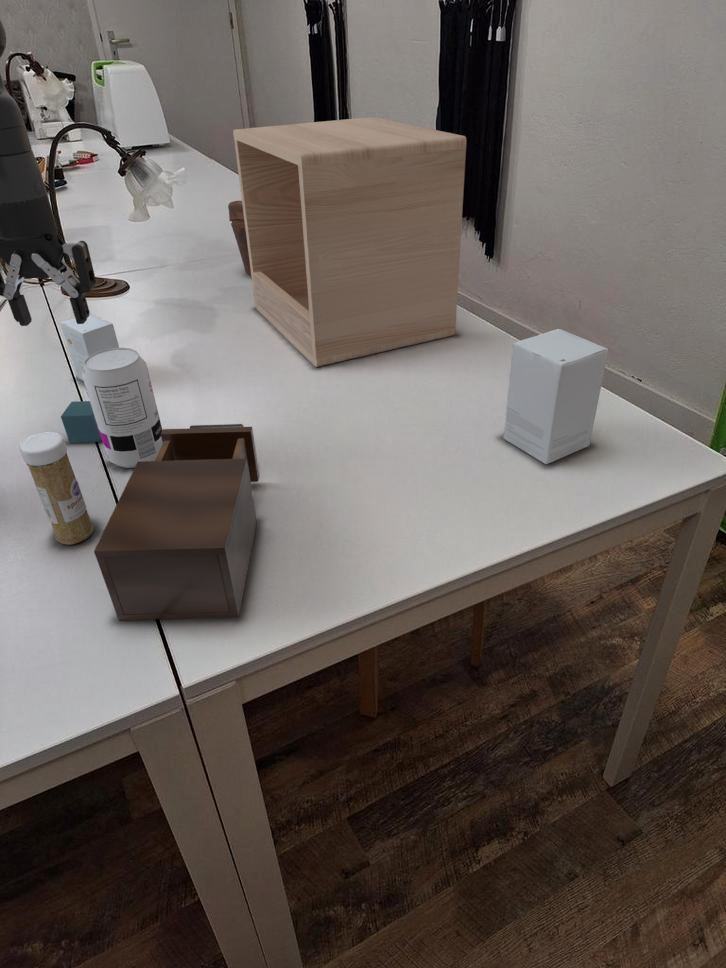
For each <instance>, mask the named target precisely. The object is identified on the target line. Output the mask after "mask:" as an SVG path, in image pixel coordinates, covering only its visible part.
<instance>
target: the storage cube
mask: <svg viewBox="0 0 726 968" xmlns="http://www.w3.org/2000/svg"><path fill="white" fill-rule="evenodd" d="M232 133H233V141H234V142H233V143H234V148H235V157H236V166H237V172H238V180H239V188H240V197H241V201H242V205H243V213H244V221H245V229H246V237H247V245H248V252H249V260H250V268H251V276H250V277H251V282H252V290H253V300H254V305H255V310H256V311H258V312H259V314H261V315H262V316H263V317H264V318H265V319H266V320H267V321H268V322H269V323H270V324H271V325H272V326H273V328H275V329H276V330H277V331H278V332H279V333H280V334H281V335H282V336H283V337H284V338H285V339H286V340H287V341H289V343H290V344H291V345H292V346H293V347H294V348H295V349H297V351H299V352H300V353H301V354H302V356H303V357H304V358H306V359H307V360H308V361H309V362H310V363H311V364H312V366H314V367H315V368H319V367H322V366H328V365H332V364H335V363H339V362H344V361H349V360H352V359H353V360H354V359H357V358H361V357H367V356H371V355H375V354H379V353H383V352H388V351H392V350H397V349H400V348H404V347H409V346H413V345H417V344H422V343H426V342H430V341H435V340H439V339H444V338H448V337H452V336H453V337H454V336H455V335H456V326H457V312H458V311H457V309H458V293H459V276H460V259H461V258H460V257H461V256H460V255H461V240H462V225H463V224H462V223H463V205H464V190H465V173H466V155H467V137H466V136H465V135H462V134H461V135H460V134H456V133H452V132H448V131H442V130H438V129H432V128H428V127H423V126H418V125H413V124H409V123H404V122H398V121H395V120H390V119H385V118H381V117H375V116H368V117H359V118H358V117H357V118H346V119H335V120H325V121H323V120H322V121H315V122H312V121H311V122H302V123H292V124H290V123H289V124H280V125H270V126H268V125H267V126H257V127H248V128H247V127H246V128H236V129H233V131H232Z"/></svg>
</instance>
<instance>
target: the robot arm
mask: <svg viewBox="0 0 726 968" xmlns="http://www.w3.org/2000/svg"><path fill="white" fill-rule="evenodd" d="M6 48H7V33H6V29H5V25H4V23H3V21H2V19H1V18H0V60H1V59H2V57H3V55H4V54H5V51H6ZM4 82H5V81H4V80H3V77H2V74H1V73H0V260H2V261H3V262H4V263H5V265H7V266H8V270H7V275H6V276H5V277H6V278H5V279H4V277H3V274H2V272H1V271H0V296H1V297H3V298H5V299H6V300H7V303H8V305H9V308H10V310H11V314H12V316H13V319H14V320H15V321H16V323H19V326H21V327H28V326H29V325H30V324H31V323H32V321H33V319H32V315H31V313H30V310H29V307H28V304H27V301H26V300H27V299H26V298H25V295H24V294H22V293H21V292H22V288H23V283H24V281H25V280H32V279H35V278H39V279H51V280H52V281H53V282H54V283H55V284H56V285H57V286H60V287H61V288H62V289H63V290H64V291H65V292H66V293H67V294H68V295H69V302H70V305H71V309H72V312H73V315H74V318H75V319H76V322H77V324H84V323H85V322H86V320H87V318H88V317H89V314H90V313H91V312H90V311H91V310H90V309H89V305H88V302H87V301H88V300H87V297H86V293H89V292H91V291H92V290H93V289H94V287H96V286H97V279H96V275H95V270H94V267H93V263H92V258H91V254H90V250H89V245H88V243H87V241H85V240H79V241H78V242H76V243H74V242H71V243H66V242H64V240H62V238H61V237H60V236H59V232H58V226H57V223H56V219H55V216H54V213H53V212H54V211H53V209H52V206H51V201H50V198H49V194H48V191H47V189H46V185H45V180H44V178H43V173H42V171H41V168H40V165H39V162H38V161H37V159H36V157H35V154H34V151H33V147H32V144H31V140H30V137H29V134H28V130H27V127H26V124H25V120H24V117H23V114H22V111H21V109H20V107H19V105H18V103H17V101H16V99H14V98H13V97H12V96H11V95H10V93H9V91H8V89H7V88H6V86H5V83H4ZM65 255H68V258H69V259H70V260H71V262H74V265H75V269H76V273H77V276H76V275H75V274H74V272H73V269H72V268H71V267H70V266H68V264H67V263H66V262H65V260H63V259H64V257H65Z"/></svg>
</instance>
